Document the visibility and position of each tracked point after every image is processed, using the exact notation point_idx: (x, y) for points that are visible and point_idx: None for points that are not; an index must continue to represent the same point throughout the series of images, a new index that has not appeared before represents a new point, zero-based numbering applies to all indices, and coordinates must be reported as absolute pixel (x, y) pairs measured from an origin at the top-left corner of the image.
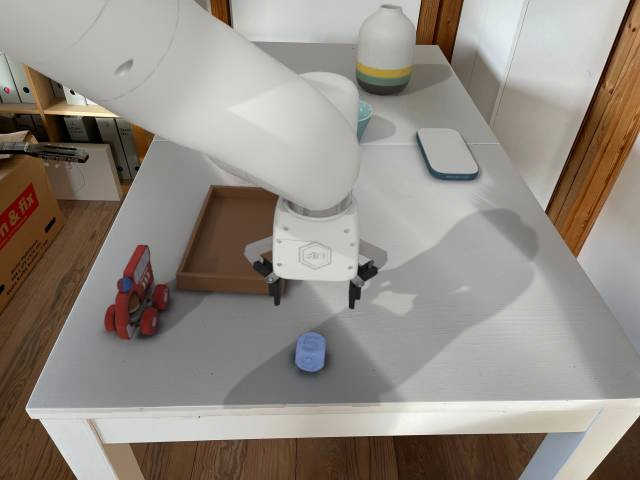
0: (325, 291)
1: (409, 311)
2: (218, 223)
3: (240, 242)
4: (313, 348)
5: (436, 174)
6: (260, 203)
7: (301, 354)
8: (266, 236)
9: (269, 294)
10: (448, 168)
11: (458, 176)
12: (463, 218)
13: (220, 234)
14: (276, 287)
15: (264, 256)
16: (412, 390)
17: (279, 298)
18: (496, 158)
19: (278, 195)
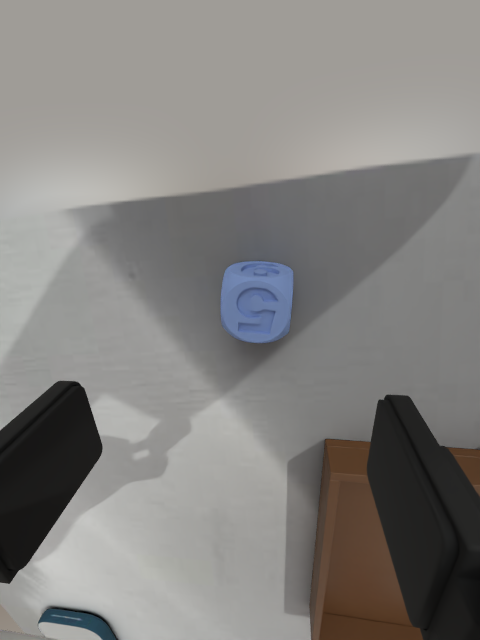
0: (243, 443)
1: (92, 402)
2: None
3: None
4: (248, 297)
5: (94, 624)
6: (374, 613)
7: (278, 279)
8: (362, 555)
9: (452, 456)
10: (77, 633)
11: (64, 618)
12: (48, 554)
13: None
14: (460, 521)
15: (366, 518)
16: (53, 232)
17: (396, 433)
18: (29, 629)
19: (342, 628)
